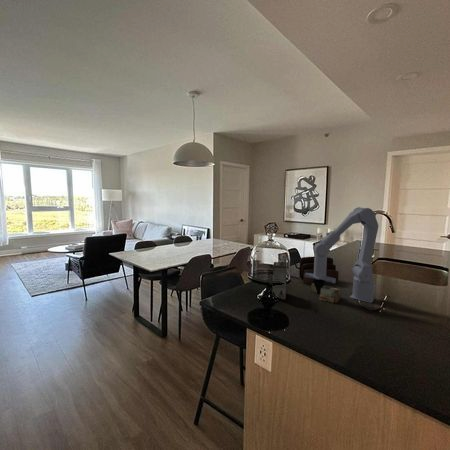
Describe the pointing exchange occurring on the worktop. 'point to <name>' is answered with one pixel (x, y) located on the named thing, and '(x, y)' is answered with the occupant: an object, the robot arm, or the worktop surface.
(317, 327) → the worktop surface
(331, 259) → the letter holder
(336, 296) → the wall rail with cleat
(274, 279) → the coffee box
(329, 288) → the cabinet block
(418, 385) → the worktop surface
